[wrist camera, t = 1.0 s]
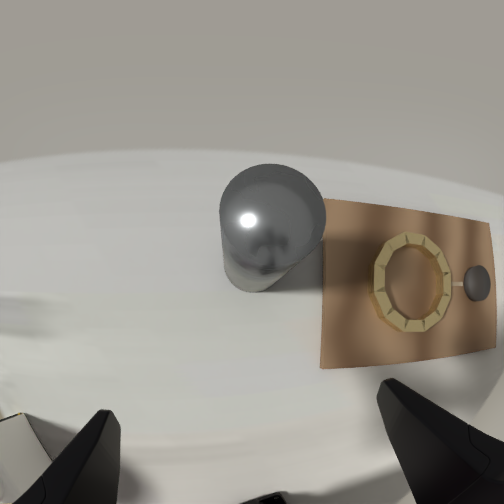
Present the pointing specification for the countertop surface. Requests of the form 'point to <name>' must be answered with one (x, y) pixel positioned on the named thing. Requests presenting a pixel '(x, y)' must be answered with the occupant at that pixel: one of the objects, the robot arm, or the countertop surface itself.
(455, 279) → the board
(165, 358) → the countertop surface
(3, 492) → the medicine bottle
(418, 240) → the brass ring
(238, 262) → the steel peg
